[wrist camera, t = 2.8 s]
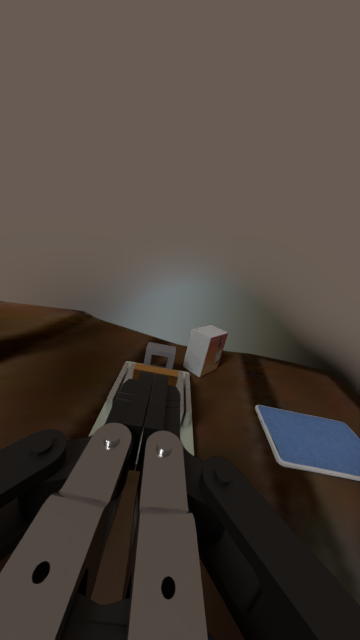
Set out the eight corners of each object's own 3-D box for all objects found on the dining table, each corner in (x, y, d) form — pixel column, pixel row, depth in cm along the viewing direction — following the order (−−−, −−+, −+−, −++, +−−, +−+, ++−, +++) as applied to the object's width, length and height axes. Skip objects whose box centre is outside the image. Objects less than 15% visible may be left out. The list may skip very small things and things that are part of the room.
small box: (199, 378, 47) (210, 338, 43) (182, 366, 50) (191, 328, 47) (217, 368, 52) (228, 332, 49) (201, 358, 56) (210, 324, 52)
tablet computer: (277, 468, 30) (280, 462, 29) (252, 407, 42) (254, 402, 41) (401, 493, 30) (406, 488, 30) (341, 425, 42) (344, 420, 42)
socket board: (191, 472, 26) (205, 429, 24) (83, 456, 25) (86, 410, 23) (187, 379, 45) (194, 350, 43) (125, 368, 44) (129, 338, 42)
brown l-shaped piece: (165, 431, 25) (178, 376, 22) (125, 425, 25) (133, 368, 22) (170, 371, 37) (179, 331, 35) (144, 366, 37) (151, 326, 34)
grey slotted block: (187, 428, 30) (191, 412, 29) (105, 414, 29) (107, 398, 28) (186, 386, 40) (189, 373, 39) (123, 374, 39) (125, 361, 38)
